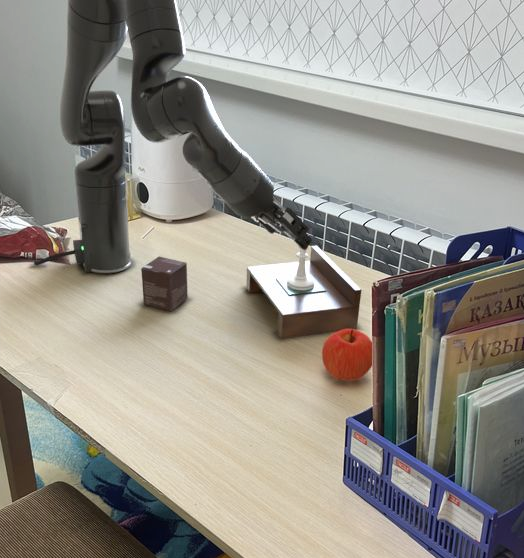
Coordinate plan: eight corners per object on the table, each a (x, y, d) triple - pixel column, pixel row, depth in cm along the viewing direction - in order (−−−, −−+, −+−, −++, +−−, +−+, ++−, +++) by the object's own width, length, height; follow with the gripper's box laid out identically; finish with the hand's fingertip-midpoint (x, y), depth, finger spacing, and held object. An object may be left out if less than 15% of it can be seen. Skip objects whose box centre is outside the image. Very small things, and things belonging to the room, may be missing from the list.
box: (188, 299, 128) (188, 262, 124) (171, 312, 123) (170, 274, 119) (160, 291, 130) (159, 255, 126) (142, 304, 125) (140, 267, 121)
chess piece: (285, 278, 126) (288, 226, 121) (311, 278, 126) (316, 226, 121) (288, 290, 122) (291, 237, 117) (316, 290, 122) (320, 237, 117)
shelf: (281, 338, 116) (283, 298, 113) (246, 288, 133) (247, 251, 129) (356, 328, 120) (361, 289, 117) (313, 280, 137) (316, 245, 133)
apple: (368, 361, 111) (374, 317, 107) (374, 389, 104) (381, 343, 100) (318, 359, 111) (323, 315, 107) (321, 387, 104) (326, 341, 100)
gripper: (282, 173, 101) (332, 232, 113) (225, 150, 110) (276, 206, 122) (252, 215, 101) (305, 269, 113) (197, 188, 110) (252, 241, 122)
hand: (290, 236), depth 118 cm, fingers open, 8 cm apart
